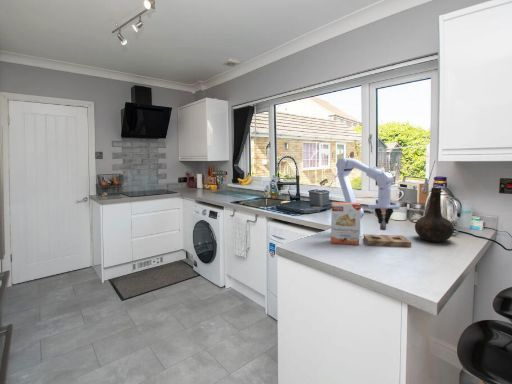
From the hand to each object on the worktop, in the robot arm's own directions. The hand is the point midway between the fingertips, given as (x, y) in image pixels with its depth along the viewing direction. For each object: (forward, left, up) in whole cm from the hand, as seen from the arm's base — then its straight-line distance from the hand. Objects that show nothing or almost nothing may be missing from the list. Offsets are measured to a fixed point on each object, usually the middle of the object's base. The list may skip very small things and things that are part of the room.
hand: (383, 223), depth 148 cm
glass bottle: (+28, +9, -11) cm, 31 cm away
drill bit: (0, 0, -3) cm, 3 cm away
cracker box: (-19, -3, -11) cm, 22 cm away
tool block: (+2, 0, -10) cm, 10 cm away
